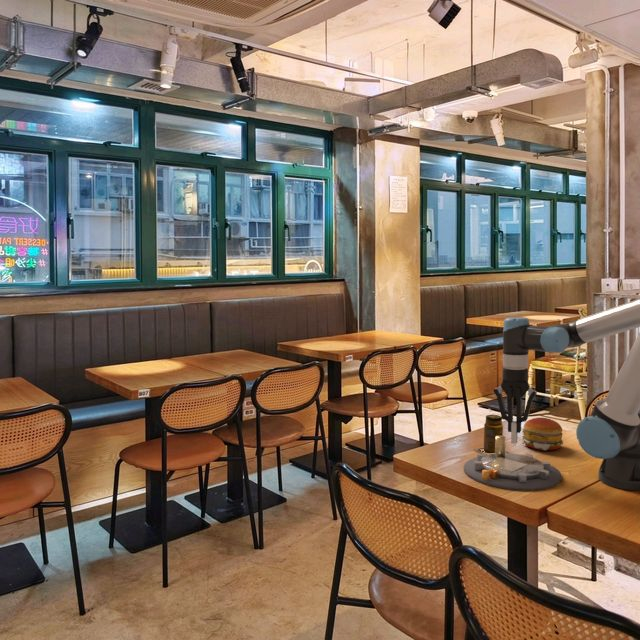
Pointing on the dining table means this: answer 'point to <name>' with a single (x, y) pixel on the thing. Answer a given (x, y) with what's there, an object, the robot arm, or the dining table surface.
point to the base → (512, 484)
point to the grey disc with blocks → (511, 464)
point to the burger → (542, 434)
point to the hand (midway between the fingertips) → (514, 442)
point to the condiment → (491, 433)
